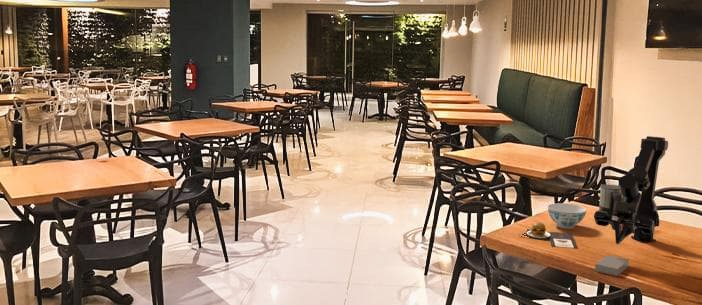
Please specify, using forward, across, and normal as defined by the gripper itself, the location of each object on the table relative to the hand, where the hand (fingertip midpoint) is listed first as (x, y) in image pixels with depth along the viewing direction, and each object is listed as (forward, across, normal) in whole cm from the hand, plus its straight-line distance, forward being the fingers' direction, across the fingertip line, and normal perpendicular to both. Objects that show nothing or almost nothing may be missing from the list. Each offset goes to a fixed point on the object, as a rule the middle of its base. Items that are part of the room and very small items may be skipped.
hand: (617, 243), depth 214 cm
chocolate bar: (-5, -24, +17) cm, 30 cm away
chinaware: (-19, -29, +30) cm, 46 cm away
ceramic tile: (+4, 0, +6) cm, 7 cm away
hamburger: (-5, -33, +17) cm, 37 cm away
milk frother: (-35, -14, +46) cm, 59 cm away
